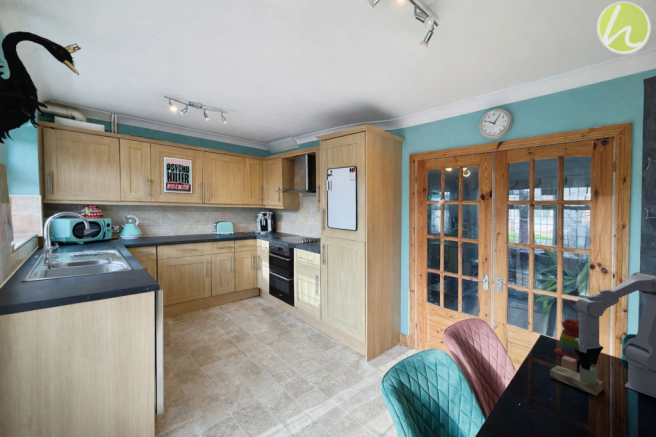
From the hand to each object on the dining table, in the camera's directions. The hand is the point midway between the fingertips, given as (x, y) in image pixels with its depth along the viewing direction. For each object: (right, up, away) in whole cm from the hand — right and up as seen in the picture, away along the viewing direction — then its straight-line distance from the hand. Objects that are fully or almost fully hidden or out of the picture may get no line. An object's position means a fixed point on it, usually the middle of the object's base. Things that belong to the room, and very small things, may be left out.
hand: (589, 366), depth 105 cm
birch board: (-2, -8, +3) cm, 9 cm away
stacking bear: (+16, -9, +25) cm, 31 cm away
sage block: (0, -5, 0) cm, 5 cm away
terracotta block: (+4, -9, +13) cm, 16 cm away
